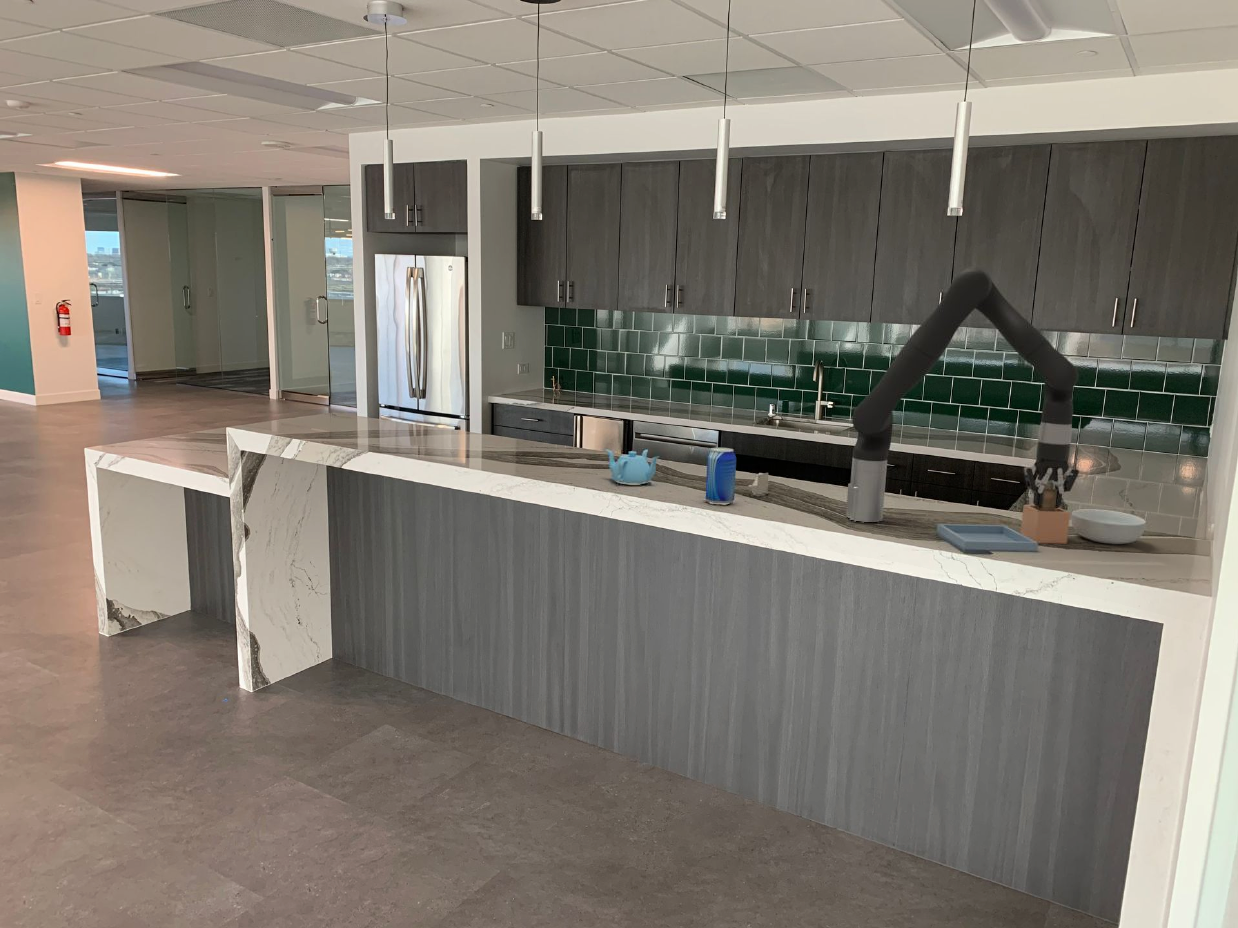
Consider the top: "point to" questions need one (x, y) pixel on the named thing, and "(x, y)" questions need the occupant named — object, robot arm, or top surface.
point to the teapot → (632, 467)
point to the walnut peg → (1048, 499)
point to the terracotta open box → (1045, 524)
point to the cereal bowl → (1107, 526)
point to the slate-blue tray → (985, 538)
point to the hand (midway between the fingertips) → (1046, 506)
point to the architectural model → (760, 484)
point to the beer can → (720, 475)
